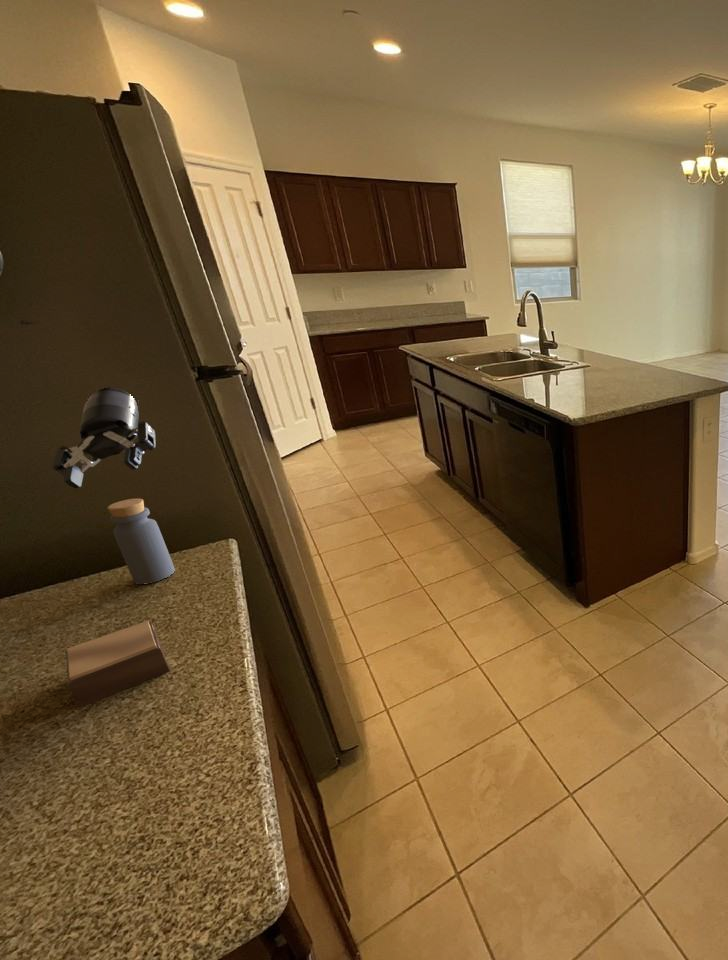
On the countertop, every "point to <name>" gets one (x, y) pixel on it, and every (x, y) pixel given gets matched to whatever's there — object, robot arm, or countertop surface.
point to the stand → (114, 662)
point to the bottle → (140, 541)
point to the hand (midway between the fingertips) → (102, 475)
